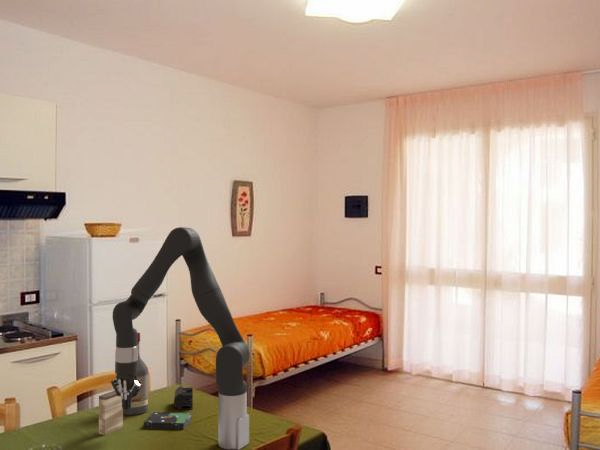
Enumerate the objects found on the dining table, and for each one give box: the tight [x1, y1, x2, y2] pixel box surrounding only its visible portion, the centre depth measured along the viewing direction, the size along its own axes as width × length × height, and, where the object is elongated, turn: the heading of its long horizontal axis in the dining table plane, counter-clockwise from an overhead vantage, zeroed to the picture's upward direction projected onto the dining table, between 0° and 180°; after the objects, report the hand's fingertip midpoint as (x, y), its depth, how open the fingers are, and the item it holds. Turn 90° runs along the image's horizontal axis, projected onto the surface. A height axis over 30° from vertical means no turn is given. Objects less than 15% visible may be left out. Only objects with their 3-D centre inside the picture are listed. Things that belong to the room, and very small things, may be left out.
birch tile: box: [98, 390, 124, 436], centre depth 183 cm, size 3×8×13 cm, turn 152°
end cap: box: [173, 385, 194, 411], centre depth 207 cm, size 10×7×7 cm
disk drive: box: [143, 411, 193, 430], centre depth 189 cm, size 10×3×15 cm
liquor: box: [123, 332, 149, 416], centre depth 202 cm, size 9×9×30 cm
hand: (126, 409), depth 179 cm, fingers closed
